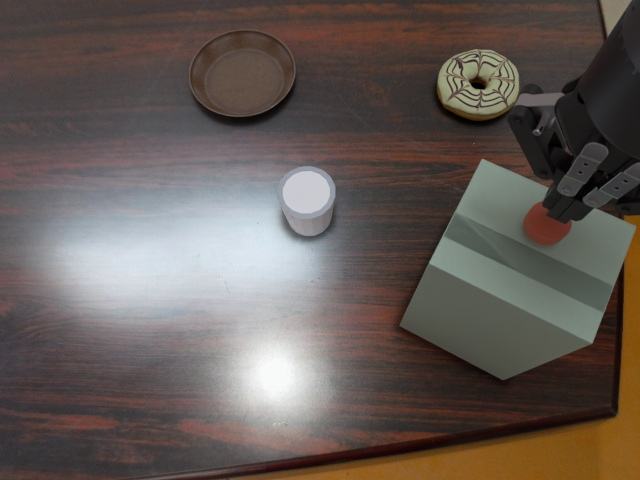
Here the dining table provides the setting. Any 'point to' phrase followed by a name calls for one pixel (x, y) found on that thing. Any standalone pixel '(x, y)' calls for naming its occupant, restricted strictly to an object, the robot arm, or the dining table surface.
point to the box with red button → (515, 279)
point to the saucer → (242, 72)
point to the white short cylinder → (307, 199)
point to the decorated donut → (482, 69)
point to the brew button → (544, 226)
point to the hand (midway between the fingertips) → (559, 209)
